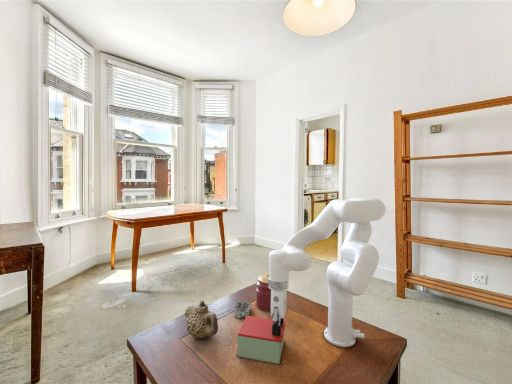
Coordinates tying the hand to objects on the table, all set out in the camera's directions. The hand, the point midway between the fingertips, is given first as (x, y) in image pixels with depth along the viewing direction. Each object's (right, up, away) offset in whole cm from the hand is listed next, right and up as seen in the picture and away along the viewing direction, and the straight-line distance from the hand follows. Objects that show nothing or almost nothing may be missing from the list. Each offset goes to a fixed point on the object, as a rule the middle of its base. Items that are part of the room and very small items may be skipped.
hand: (277, 329), depth 93 cm
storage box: (-6, -9, +2) cm, 11 cm away
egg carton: (-15, -8, +28) cm, 33 cm away
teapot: (-31, -8, +9) cm, 34 cm away
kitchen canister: (-2, -8, +36) cm, 37 cm away
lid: (-6, -1, +2) cm, 6 cm away
